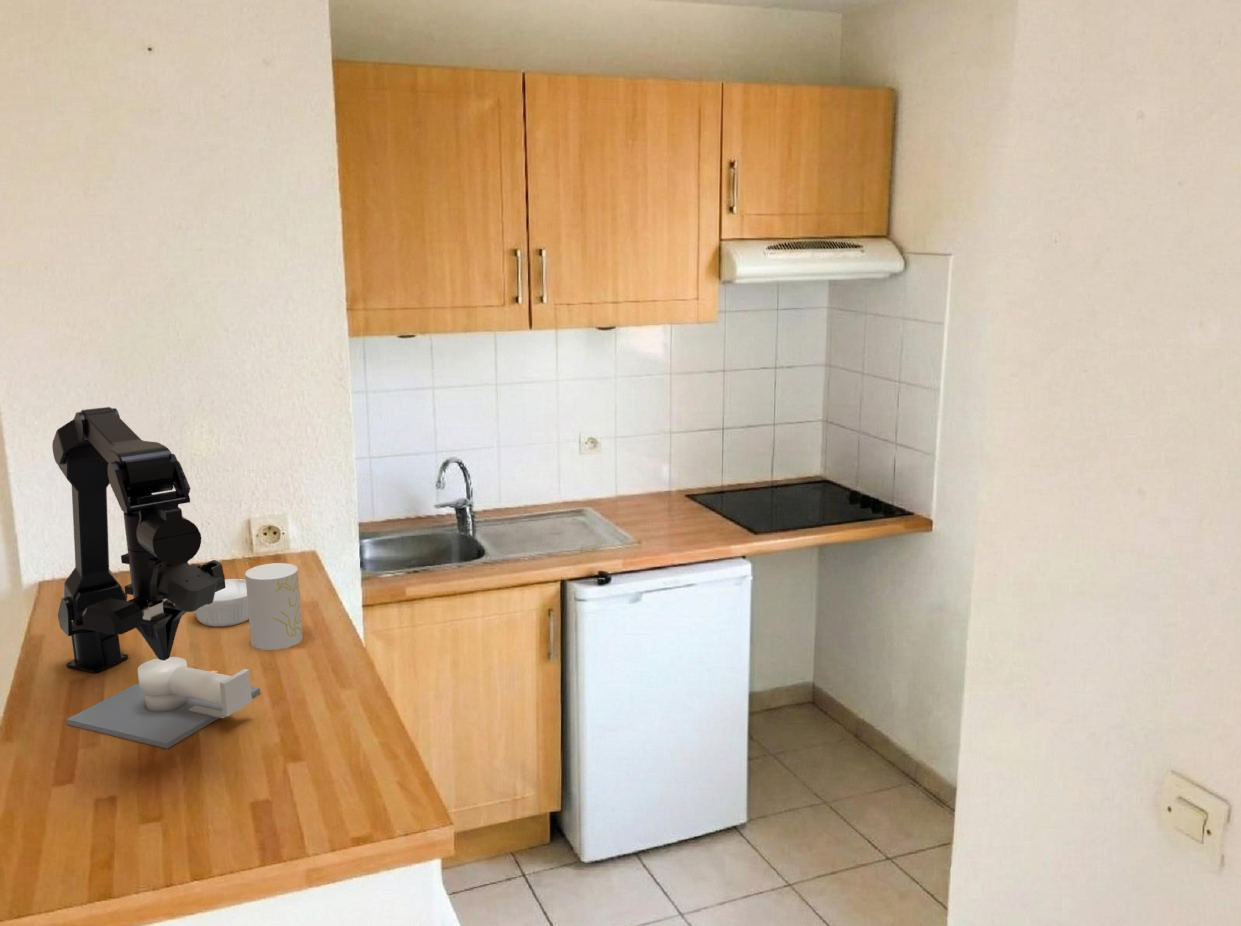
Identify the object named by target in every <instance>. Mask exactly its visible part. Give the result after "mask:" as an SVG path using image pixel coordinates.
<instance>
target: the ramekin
mask: <svg viewBox="0 0 1241 926" xmlns="http://www.w3.org/2000/svg"><path fill="white" fill-rule="evenodd" d="M225 587H226V588H224V589H222V590H219V591H217V592H215V595H214V600H213V602H212V603H211V604H209V605H208V604H206V605H204V606H202V607H200V608H198V609H197V610H196V611H194V613H195V616H196V619H197V621H198V622H200V623H201V624H203V625H205V626H208V627H216V628H217V627H221V628H222V627H229V626H234V625H238V624H242V623H245V622H247V621H249V611H248V599H247V588H246V579H245V578H243V579H240V578H228V579H227V578H225Z"/></svg>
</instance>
